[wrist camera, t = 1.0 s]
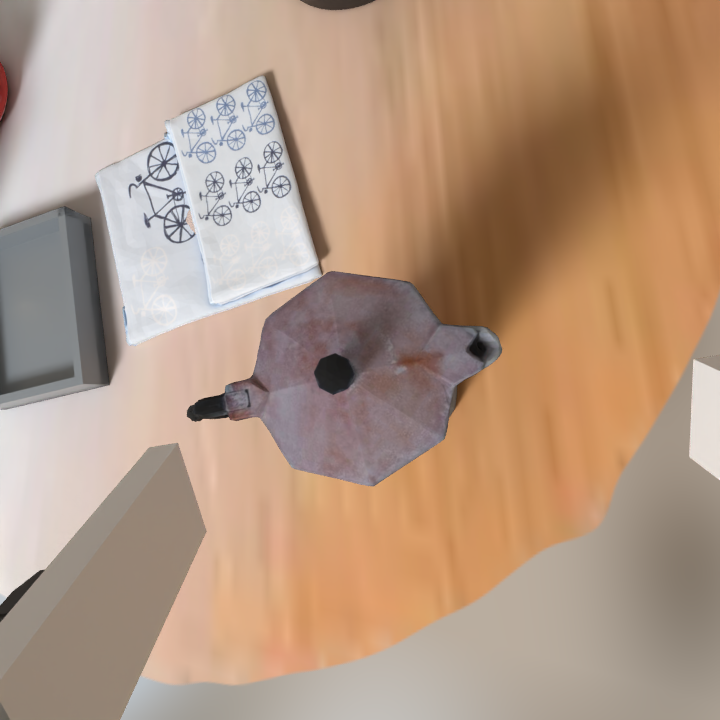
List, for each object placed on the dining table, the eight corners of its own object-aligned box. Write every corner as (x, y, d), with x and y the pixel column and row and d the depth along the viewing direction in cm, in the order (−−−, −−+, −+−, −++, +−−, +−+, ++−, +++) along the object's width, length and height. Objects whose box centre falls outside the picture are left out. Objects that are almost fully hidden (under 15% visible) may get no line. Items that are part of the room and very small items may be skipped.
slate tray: (-8, 251, 50) (-38, 243, 47) (90, 218, 47) (63, 206, 44) (6, 409, 48) (-26, 410, 45) (109, 384, 45) (82, 384, 42)
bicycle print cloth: (328, 277, 40) (319, 271, 38) (132, 349, 45) (115, 347, 43) (274, 81, 43) (263, 65, 41) (95, 168, 48) (77, 158, 46)
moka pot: (515, 424, 35) (542, 455, 16) (323, 474, 39) (153, 550, 19) (476, 301, 36) (456, 192, 17) (294, 361, 40) (109, 326, 21)
